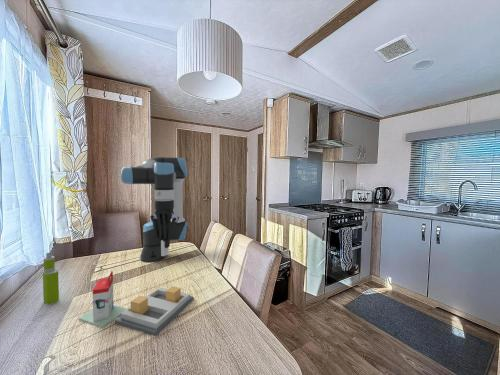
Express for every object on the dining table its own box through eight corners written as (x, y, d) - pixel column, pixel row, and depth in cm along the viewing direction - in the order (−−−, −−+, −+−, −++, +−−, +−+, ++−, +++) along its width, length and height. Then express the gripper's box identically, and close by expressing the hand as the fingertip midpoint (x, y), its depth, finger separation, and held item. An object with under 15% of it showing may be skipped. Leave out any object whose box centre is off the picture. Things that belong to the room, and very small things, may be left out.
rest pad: (105, 304, 85) (105, 302, 85) (127, 310, 81) (127, 308, 81) (78, 319, 76) (78, 318, 76) (102, 327, 72) (102, 326, 72)
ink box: (99, 308, 81) (98, 271, 81) (113, 305, 83) (113, 269, 83) (92, 322, 74) (91, 281, 73) (109, 318, 76) (108, 279, 75)
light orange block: (139, 308, 81) (139, 295, 80) (147, 310, 79) (147, 297, 79) (130, 314, 77) (130, 301, 77) (139, 316, 76) (139, 303, 75)
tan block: (172, 297, 88) (172, 286, 88) (180, 299, 87) (180, 288, 86) (165, 303, 84) (165, 291, 84) (174, 305, 83) (174, 293, 83)
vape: (53, 296, 90) (52, 251, 89) (60, 300, 87) (58, 253, 86) (42, 301, 87) (40, 253, 86) (48, 305, 84) (46, 256, 83)
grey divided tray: (159, 291, 95) (159, 284, 95) (193, 299, 89) (193, 292, 89) (114, 323, 74) (114, 314, 74) (155, 336, 68) (155, 326, 68)
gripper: (144, 199, 86) (145, 255, 87) (171, 201, 82) (171, 260, 83) (158, 197, 93) (158, 249, 94) (183, 199, 89) (183, 253, 90)
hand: (164, 254), depth 89 cm, fingers closed
